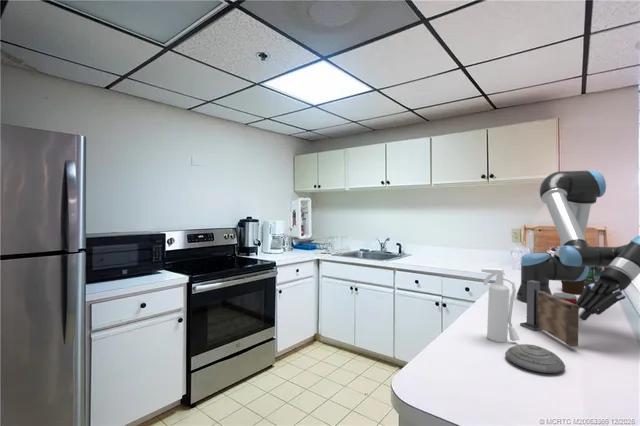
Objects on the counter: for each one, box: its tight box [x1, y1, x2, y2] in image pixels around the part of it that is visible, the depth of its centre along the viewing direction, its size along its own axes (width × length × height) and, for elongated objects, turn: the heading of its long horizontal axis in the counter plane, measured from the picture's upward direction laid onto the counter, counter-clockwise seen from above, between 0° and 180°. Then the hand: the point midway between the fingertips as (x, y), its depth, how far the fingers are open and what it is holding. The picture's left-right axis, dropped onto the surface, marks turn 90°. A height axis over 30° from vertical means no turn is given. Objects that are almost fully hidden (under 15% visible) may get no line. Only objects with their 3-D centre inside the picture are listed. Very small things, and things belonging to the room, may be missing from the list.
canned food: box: [552, 292, 578, 305], centre depth 132 cm, size 8×8×11 cm
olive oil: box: [560, 279, 585, 296], centre depth 176 cm, size 11×11×25 cm
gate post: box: [519, 280, 544, 332], centre depth 126 cm, size 6×6×18 cm
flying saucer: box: [504, 343, 566, 374], centre depth 98 cm, size 15×15×6 cm
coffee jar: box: [584, 266, 596, 286], centre depth 194 cm, size 10×8×19 cm
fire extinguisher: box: [481, 267, 521, 343], centre depth 115 cm, size 7×12×25 cm, turn 42°
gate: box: [537, 290, 579, 348], centre depth 115 cm, size 19×2×13 cm, turn 177°
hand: (572, 324), depth 109 cm, fingers closed
